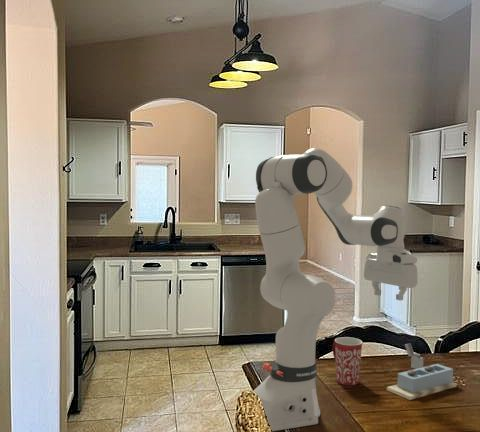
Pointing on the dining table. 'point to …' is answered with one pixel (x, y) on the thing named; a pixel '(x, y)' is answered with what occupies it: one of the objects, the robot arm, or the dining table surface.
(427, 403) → the dining table surface
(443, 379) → the two-hole block
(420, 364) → the lighter
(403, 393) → the boss board
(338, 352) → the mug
